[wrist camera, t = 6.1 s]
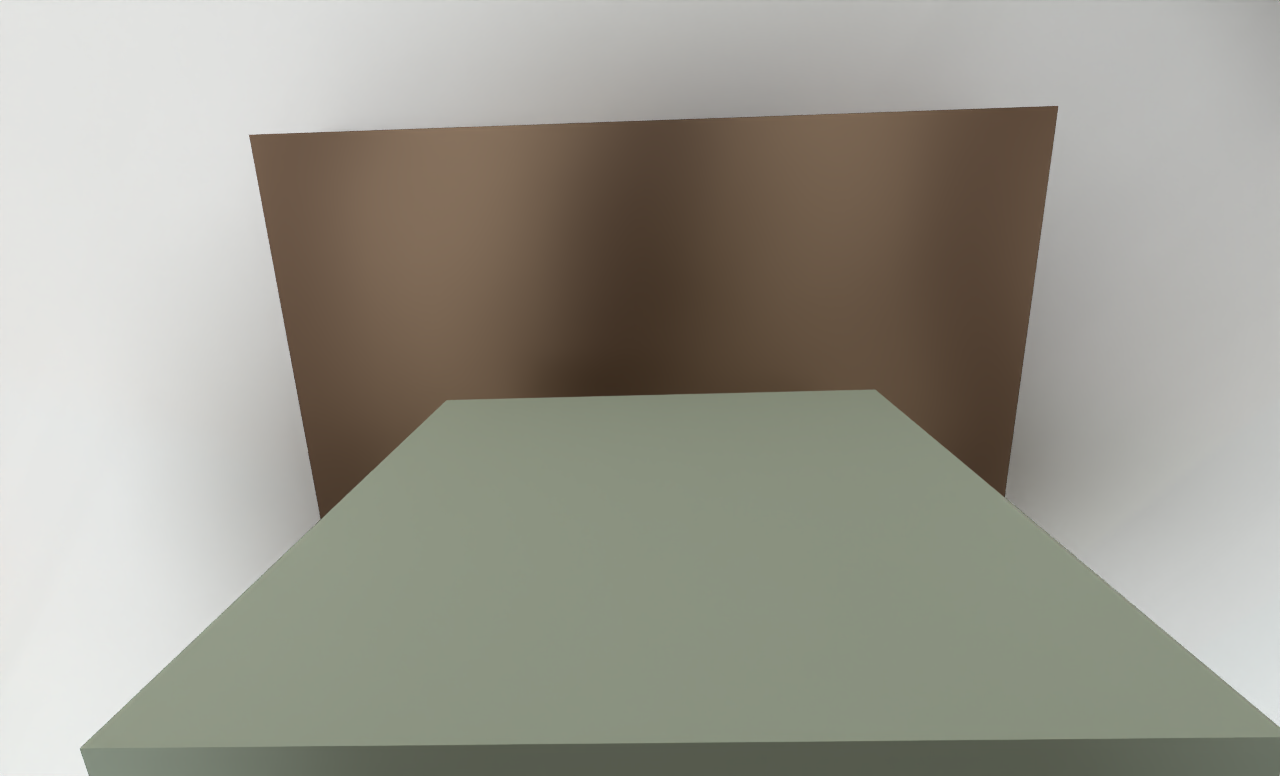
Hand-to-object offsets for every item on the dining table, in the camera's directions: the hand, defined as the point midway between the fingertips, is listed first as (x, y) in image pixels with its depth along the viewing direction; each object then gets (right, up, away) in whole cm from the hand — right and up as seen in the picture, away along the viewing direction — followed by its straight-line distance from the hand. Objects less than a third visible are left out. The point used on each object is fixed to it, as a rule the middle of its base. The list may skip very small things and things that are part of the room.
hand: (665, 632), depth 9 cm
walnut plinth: (0, +2, +7) cm, 7 cm away
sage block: (0, 0, +1) cm, 1 cm away
